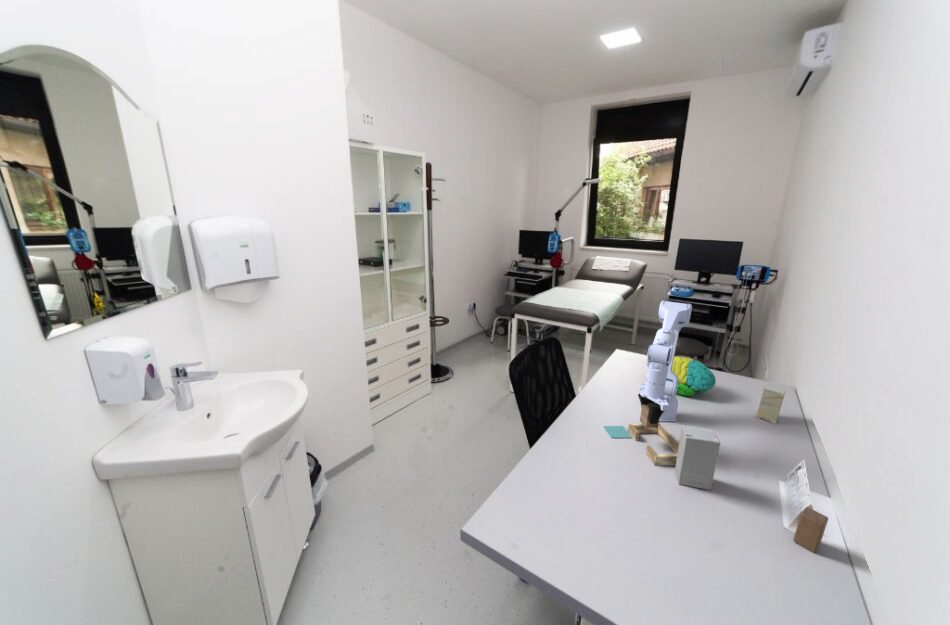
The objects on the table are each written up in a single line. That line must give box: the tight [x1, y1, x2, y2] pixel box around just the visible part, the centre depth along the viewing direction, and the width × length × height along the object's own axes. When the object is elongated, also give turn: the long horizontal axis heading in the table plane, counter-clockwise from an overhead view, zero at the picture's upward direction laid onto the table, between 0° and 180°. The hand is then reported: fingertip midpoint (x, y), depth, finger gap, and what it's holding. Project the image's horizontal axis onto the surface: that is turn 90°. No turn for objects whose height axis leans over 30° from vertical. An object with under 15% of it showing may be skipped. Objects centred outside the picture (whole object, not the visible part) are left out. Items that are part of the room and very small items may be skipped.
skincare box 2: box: [756, 385, 786, 424], centre depth 137 cm, size 6×4×12 cm
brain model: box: [666, 356, 717, 397], centre depth 159 cm, size 24×19×15 cm
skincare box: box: [674, 424, 721, 491], centre depth 102 cm, size 8×7×16 cm
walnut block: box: [639, 405, 660, 428], centre depth 119 cm, size 4×4×6 cm
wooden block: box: [793, 506, 829, 554], centre depth 84 cm, size 4×4×8 cm
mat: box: [603, 425, 633, 439], centre depth 127 cm, size 7×7×1 cm
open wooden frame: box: [627, 423, 679, 466], centre depth 119 cm, size 11×18×3 cm, turn 3°
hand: (649, 419), depth 119 cm, fingers closed on walnut block, 4 cm apart
